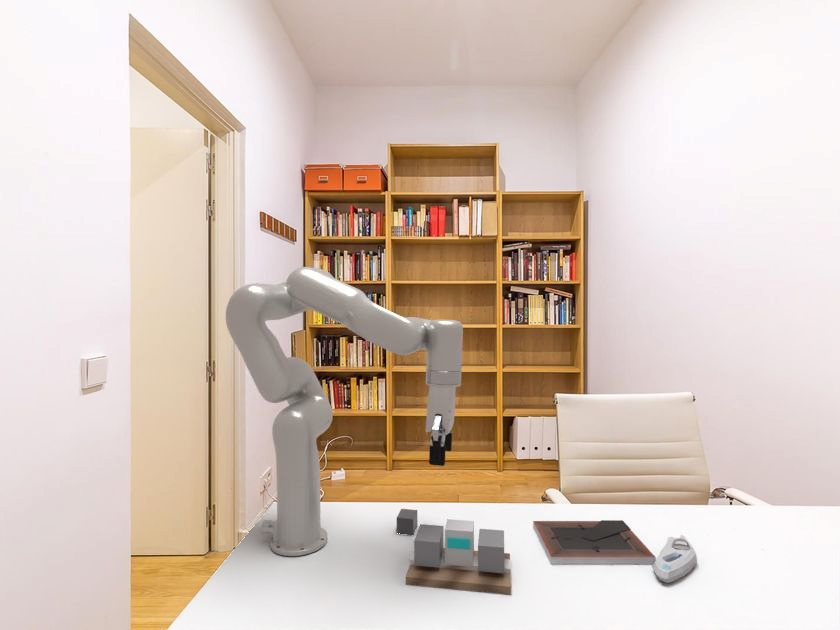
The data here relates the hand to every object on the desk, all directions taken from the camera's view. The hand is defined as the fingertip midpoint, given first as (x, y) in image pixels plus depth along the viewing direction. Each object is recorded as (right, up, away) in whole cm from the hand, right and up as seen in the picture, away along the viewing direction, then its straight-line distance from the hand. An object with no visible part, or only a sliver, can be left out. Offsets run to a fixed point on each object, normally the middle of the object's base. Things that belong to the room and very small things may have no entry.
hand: (440, 457), depth 103 cm
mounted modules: (+4, -19, -6) cm, 20 cm away
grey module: (+4, -19, -6) cm, 20 cm away
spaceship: (+49, -22, -1) cm, 53 cm away
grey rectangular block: (-7, -21, +12) cm, 26 cm away
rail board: (+4, -22, -6) cm, 22 cm away
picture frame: (+34, -22, +5) cm, 40 cm away
